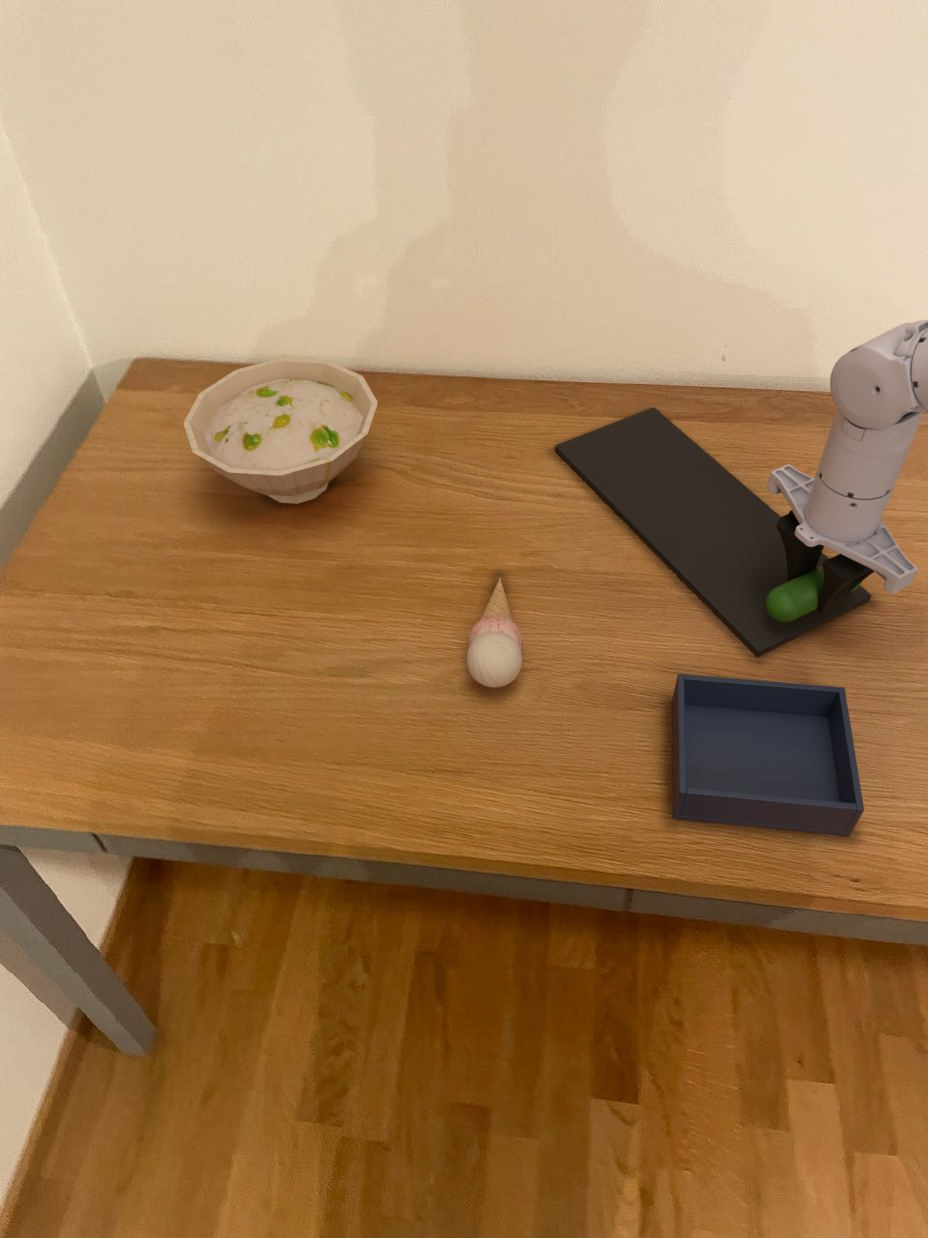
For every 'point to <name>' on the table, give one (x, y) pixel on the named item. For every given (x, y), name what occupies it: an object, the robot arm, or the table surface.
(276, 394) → the bowl
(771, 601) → the cucumber
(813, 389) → the table surface
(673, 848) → the table surface
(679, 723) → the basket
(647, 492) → the mat
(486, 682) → the ice cream cone
